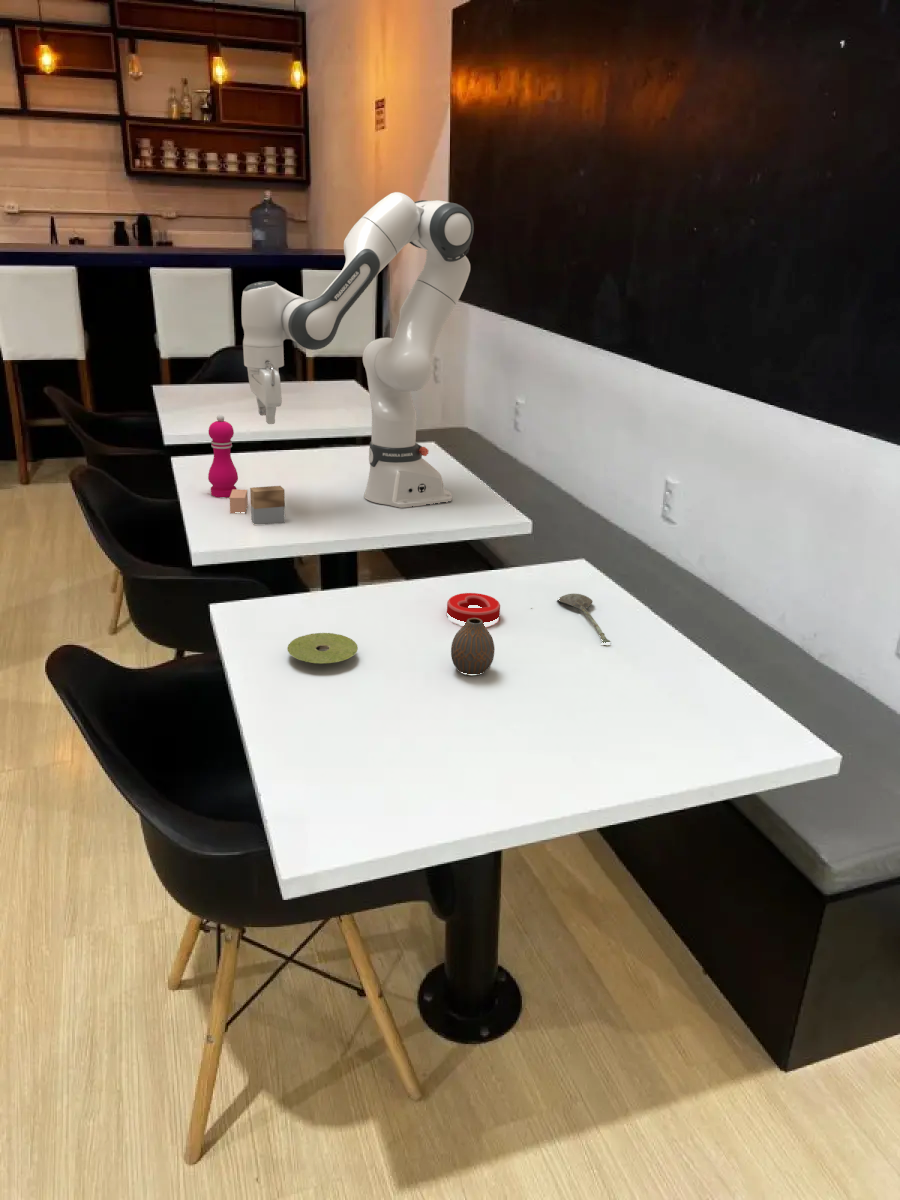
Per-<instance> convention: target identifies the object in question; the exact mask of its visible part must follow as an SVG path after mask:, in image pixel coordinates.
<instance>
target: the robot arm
mask: <svg viewBox="0 0 900 1200" xmlns="http://www.w3.org/2000/svg"><path fill="white" fill-rule="evenodd" d="M474 224H475V223H474V220H473V217H472V214H471V213H470V212H469V211H468V210H467V209H466V208H465V207H464V206H462V205H461V204H458V203H454V202H449V201H444V200H439V199H436V200H416V201H414V200H413V199H412V198H411V197H409V195H407V194H405V193H403V192H400V191H394V192H391V193H389V194H387V195H386V196H385V197H383V198H382V199H381V200H379V201H377V203H376V204H374V205H373V206H372V207H371V208H370V209H368V210H367V212H365V213H364V214H363V215H362V216H361V217H360V219H358V220H357V221H356V223H355V224H354V225H353V226H352V227H351V229H350V230H349V232H348V234H347V235H346V236H345V239H344V241H343V252H344V253H343V254H344V256H345V263H344V266H343V268H341V269H342V270H341V271H340V272H339V273H338V275H337V276H336V277H335V278H334V279H333V281H332V282H330V284H329V285H328V286H327V287H326V289H325V290H324V291H323V292H322V293H321V294H320V295H319V296H317V297H316V298H315V297H314V298H312V299H309V298H306V297H303V296H300V295H297V294H295V293H293V292H291V291H289V290H287V289H286V288H284V287H282V286H281V285H279V284H278V283H277V282H276V281H273V280H272V281H271V280H267V281H258V282H253V283H251V284H248V285H247V286H246V287H245V288H244V289H243V291H242V296H241V327H242V329H243V334H244V335H243V339H242V349H243V350H242V351H243V365H244V367H246V369H247V377H248V382H249V389H250V391H251V392H252V394H254V396H255V398H256V404H257V409H258V415H260V416H265V422H266V424H267V425H274V424H275V423H276V419H275V418H276V411H277V408H278V407H281V406H282V402H283V401H282V387H281V376H280V373H279V368H282V367H284V366H285V360H284V359H285V357H284V355H285V353H284V341H285V340H291V341H293V342H295V343H297V344H298V345H299V346H301V347H303V348H304V349H307V350H310V351H311V350H312V351H315V350H316V351H317V350H321V349H324V348H325V347H327V346H328V345H330V344H331V342H332V341H334V338H335V337H336V334H337V332H338V329H339V327H340V324H341V321H342V320H343V318H344V317H345V315H346V313H347V312H348V311H349V310H350V309H351V308H352V307H353V305H354V304H355V303H356V301H357V300H359V298H360V297H361V295H362V294H363V293H364V292H365V290H367V288H368V287H369V286H370V284H371V283H372V281H373V280H374V279H375V278H376V277H377V276H378V275H379V273H380V272H382V270H383V269H384V268H385V267H386V266H387V265H388V264H389V263H390V262H391V261H393V260H394V258H395V257H396V256H397V255H398V254H399V253H400V252H401V250H403V248H404V247H405V246H407V245H408V244H411V246H414V247H415V248H418V249H423V250H425V252H426V253H425V254H426V256H425V257H426V258H425V263H424V265H423V268H422V270H421V271H420V273H419V275H418V277H417V278H416V279H415V281H414V282H413V283H414V284H413V285H412V287H411V289H410V290H409V293H407V296H406V298H405V299H404V302H403V303H402V305H401V307H400V309H399V320H398V325H397V327H396V331H395V334H394V336H393V338H392V337H380V338H375V339H374V340H371V342H369V343H368V344H367V345H366V346H365V347H364V350H363V353H362V363H363V367H364V368H365V373H366V378H367V386H368V387H367V388H368V393H369V399H370V406H371V407H370V409H371V441H370V442H369V448H368V463H369V472H368V479H367V484H366V487H365V492H364V494H363V497H364V499H366V501H367V500H368V501H369V502H372V503H376V504H380V505H386V506H392V507H396V508H400V509H401V508H404V509H406V508H412V506H413V507H419V506H427V505H426V504H430V505H435V503H438V504H441V503H440V502H446V503H449V502H448V501H451V500H452V501H453V496H452V493H451V492H450V491H449V490H447V489H446V488H444V480H443V477H442V475H441V473H440V472H439V470H437V469H436V468H435V467H434V466H432V464H430V463H429V462H428V461H426V459H424V458H423V457H427V456H428V454H429V449H428V448H427V447H426V446H422V445H421V444H418V443H417V441H416V439H417V438H416V436H417V434H416V433H417V416H418V415H417V410H416V408H415V404H414V401H413V396H412V392H416V391H419V390H422V389H423V388H424V387H425V386H426V385H427V384H428V383H429V380H430V378H431V375H432V359H433V355H434V353H435V349H436V346H437V343H438V339H439V337H440V334H441V332H442V331H443V328H444V327H445V325H446V323H447V321H448V320H449V318H450V317H451V315H452V313H453V311H454V309H455V307H456V305H457V303H458V302H459V300H460V298H461V295H462V293H463V291H464V289H465V287H466V285H467V284H466V283H467V281H468V279H469V276H470V273H471V263H470V261H469V258H468V257H467V256H466V255H468V253H469V251H470V248H471V247H470V245H471V243H472V239H473V235H474V230H475V227H474ZM452 501H451V502H452ZM433 503H434V504H433Z"/></svg>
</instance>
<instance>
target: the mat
mask: <svg viewBox="0 0 900 1200" xmlns="http://www.w3.org/2000/svg"><path fill="white" fill-rule="evenodd" d="M358 647H359V646H358V644H357V643H356V641H355V640H353V639H352V638H350V637H348V636H345V635H343V634H338V633H333V632H332V633H331V632H318V633H317V632H316V633H309V634H305V635H302V636H298V637H296V638H294V639H293V640H291V641H290V643H288V646H287V648H286V649H287V652H288V654H289V655H290V656H291V657H293V658H294V659H296V660H299V661H302V662H305V663H312V664H332V663H339V662H343V661H345V660H348V659H350V658H352V657H353V656H355V655H356V653H357V652H358V650H359V649H358Z"/></svg>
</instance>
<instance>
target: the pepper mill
mask: <svg viewBox="0 0 900 1200" xmlns="http://www.w3.org/2000/svg"><path fill="white" fill-rule="evenodd" d="M234 433H235V430H234V427H233V425H232V424H231V423H230V422H228V421H225V416H224V415H223V414H218V415H217V417H216V421H213V422H212V423H211V424H210V425H209V427H208V436H209V437H210V439H211V441H210V442H211V448H212V449H213V459H212V462H211V465H210V467H209V470H208V474H207V475H208V476H207V477H208V479H207V480H208V482H209V483H210V484H211V485H212V486H211V487H210V494H211V495H210V496H212V497H214V496H215V498H220V497H226V498H230V495H231V492H232V489H237V487H236V486H235V485H236V483H237V482H238V480H239V476H238V475H239V474H238V471H237V469H236V466H235V464H234V462H233V459H232V457H231V455H232V454H231V448H232V447H233V444H232V443H233V441H232V438H233V437H234Z"/></svg>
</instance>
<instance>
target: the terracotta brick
mask: <svg viewBox="0 0 900 1200" xmlns="http://www.w3.org/2000/svg"><path fill="white" fill-rule="evenodd" d="M248 498H249V496H248V489H241V488H240V489H237V488H236V489H232V492H231V495H230V497H229V512H230V514H236V513H235V512H240V513H241V512H246V513H247V510H246V508H248V506H249V503H248V502H249V501H248V500H249V499H248ZM247 505H248V506H247Z"/></svg>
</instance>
